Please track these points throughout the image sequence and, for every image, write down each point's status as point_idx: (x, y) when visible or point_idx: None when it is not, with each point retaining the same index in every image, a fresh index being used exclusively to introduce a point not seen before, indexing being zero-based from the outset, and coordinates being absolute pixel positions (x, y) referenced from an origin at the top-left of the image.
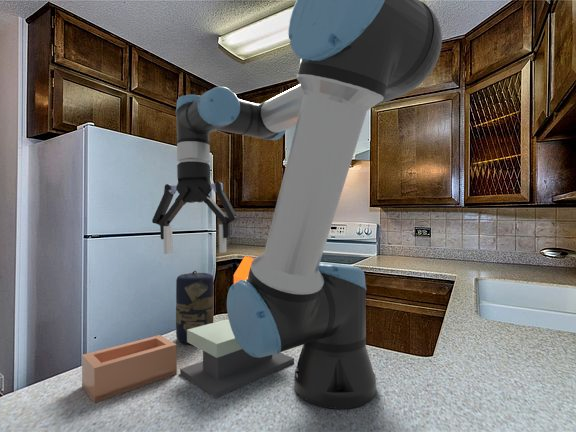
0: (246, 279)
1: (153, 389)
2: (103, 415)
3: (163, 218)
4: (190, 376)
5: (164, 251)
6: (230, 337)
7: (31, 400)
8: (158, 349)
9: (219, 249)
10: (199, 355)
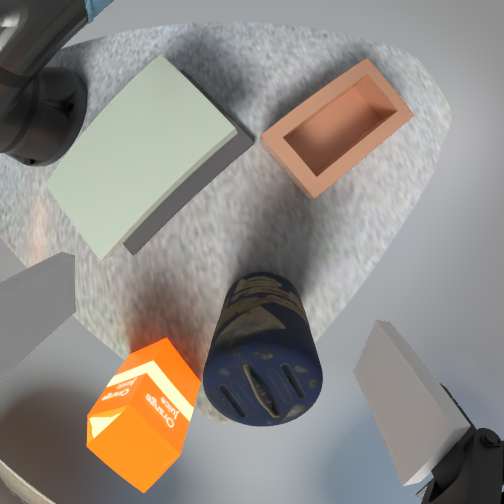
0: (128, 405)
1: (283, 98)
2: (324, 47)
3: (496, 470)
4: (229, 116)
5: (392, 328)
6: (137, 85)
7: (428, 103)
8: (290, 112)
9: (64, 259)
10: (236, 220)
